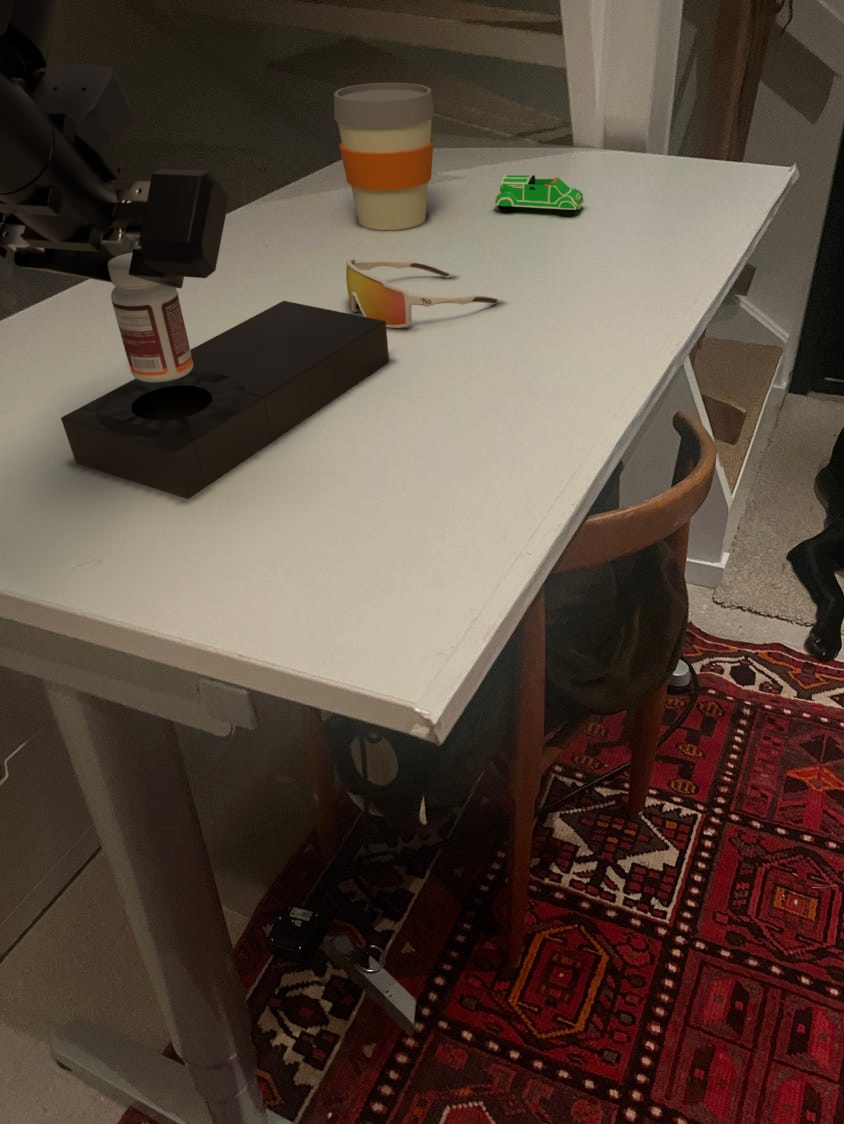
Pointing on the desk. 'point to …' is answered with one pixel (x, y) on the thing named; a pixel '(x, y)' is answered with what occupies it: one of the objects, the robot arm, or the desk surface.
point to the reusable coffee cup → (386, 151)
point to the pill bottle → (149, 325)
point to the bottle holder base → (227, 397)
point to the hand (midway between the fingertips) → (151, 279)
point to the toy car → (537, 194)
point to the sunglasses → (393, 293)
